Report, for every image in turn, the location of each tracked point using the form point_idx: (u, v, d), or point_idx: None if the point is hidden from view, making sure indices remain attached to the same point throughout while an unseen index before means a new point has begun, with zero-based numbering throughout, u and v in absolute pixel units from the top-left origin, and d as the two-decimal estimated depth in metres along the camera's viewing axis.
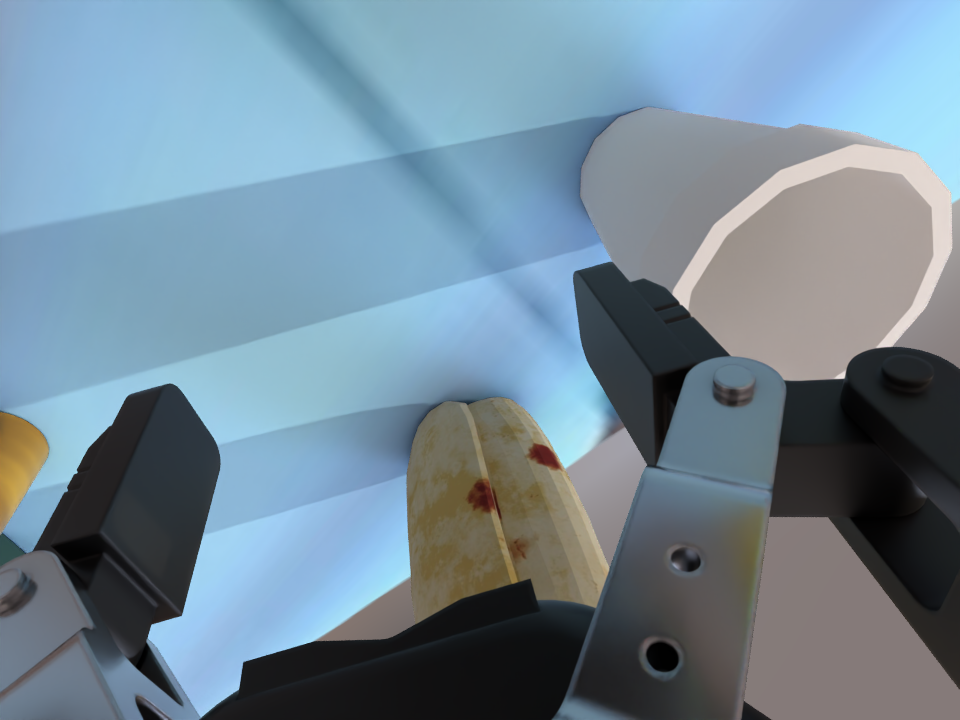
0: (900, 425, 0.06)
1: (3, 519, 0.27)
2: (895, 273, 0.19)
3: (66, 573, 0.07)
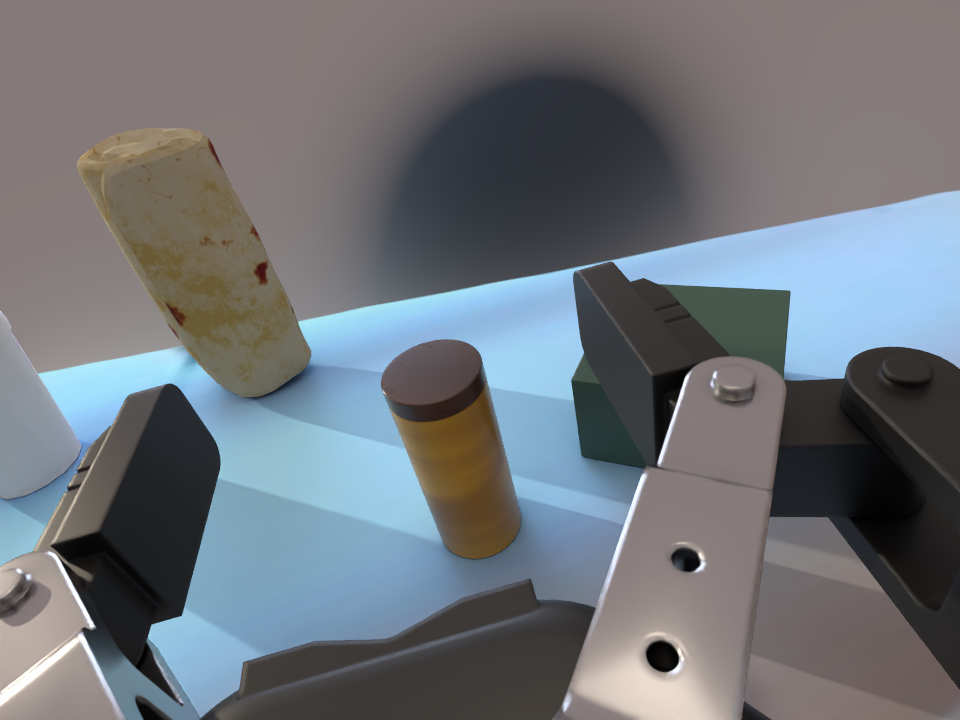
0: (900, 425, 0.06)
1: None
2: None
3: (66, 573, 0.07)
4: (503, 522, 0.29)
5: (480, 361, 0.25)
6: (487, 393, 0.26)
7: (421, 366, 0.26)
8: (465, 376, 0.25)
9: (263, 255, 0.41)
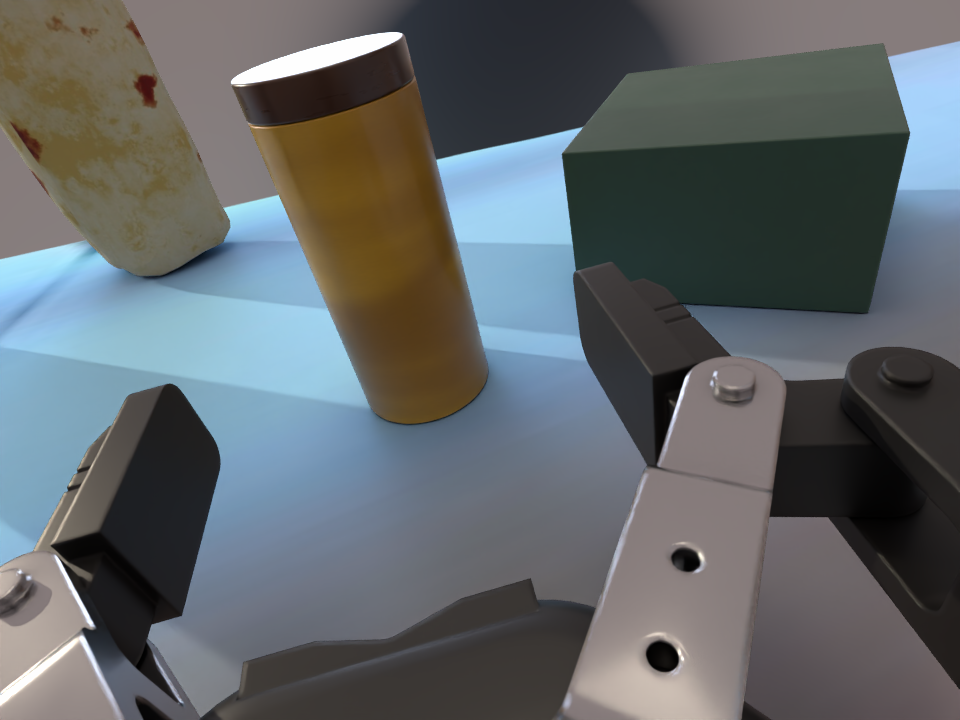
0: (900, 425, 0.06)
1: None
2: None
3: (66, 573, 0.07)
4: (456, 360, 0.19)
5: (401, 36, 0.15)
6: (416, 101, 0.15)
7: (304, 57, 0.15)
8: (371, 47, 0.14)
9: (148, 65, 0.30)
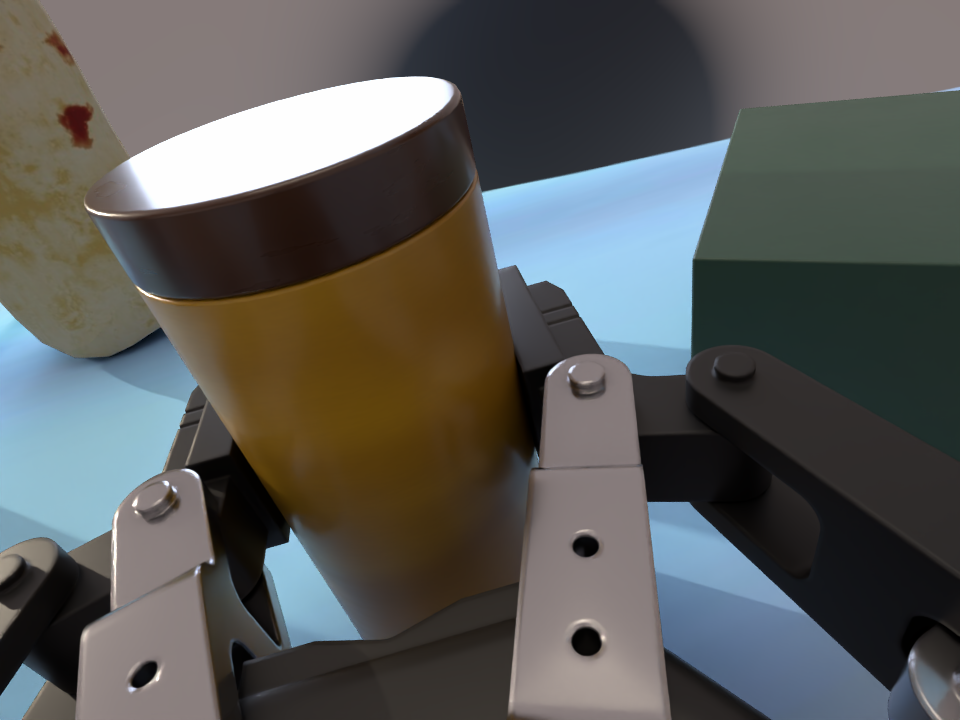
0: (717, 415, 0.07)
1: None
2: None
3: (204, 498, 0.08)
4: None
5: (454, 92, 0.07)
6: (481, 222, 0.07)
7: (251, 131, 0.07)
8: (392, 123, 0.06)
9: (79, 92, 0.23)
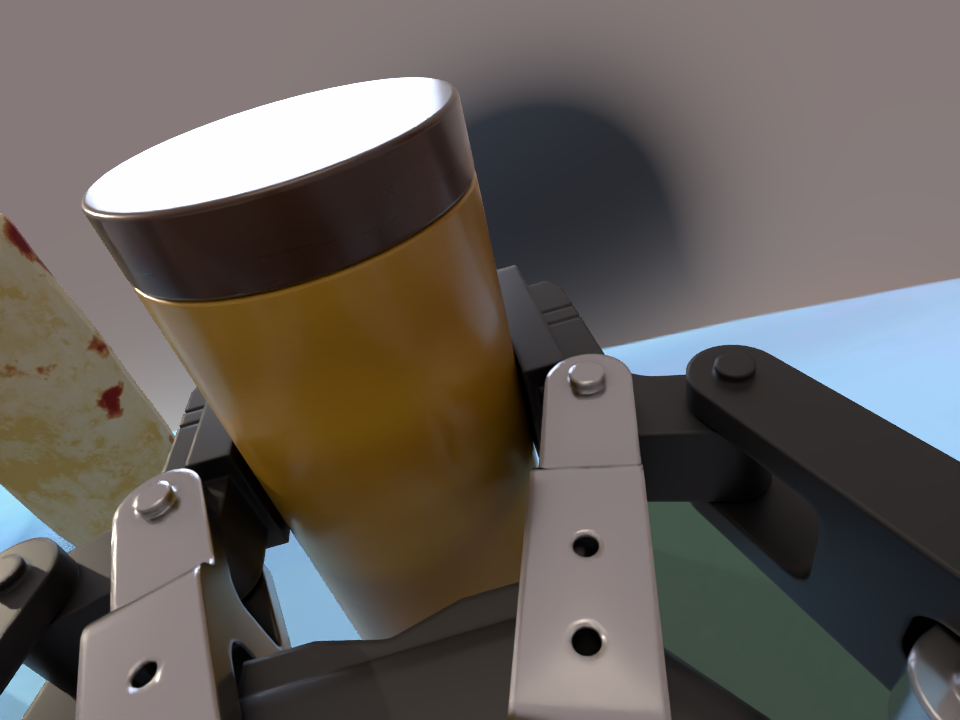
0: (718, 415, 0.07)
1: None
2: None
3: (204, 498, 0.08)
4: None
5: (452, 93, 0.07)
6: (479, 223, 0.07)
7: (250, 132, 0.07)
8: (390, 123, 0.06)
9: (113, 376, 0.28)
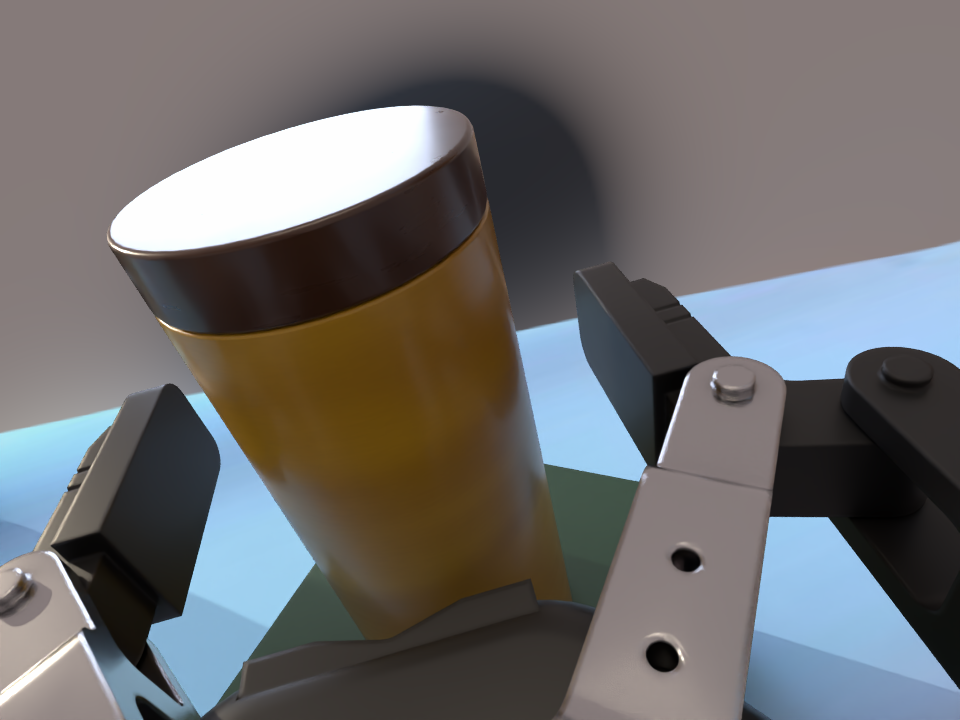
0: (900, 425, 0.06)
1: None
2: None
3: (66, 573, 0.07)
4: None
5: (466, 126, 0.07)
6: (492, 251, 0.07)
7: (268, 164, 0.08)
8: (407, 160, 0.06)
9: None
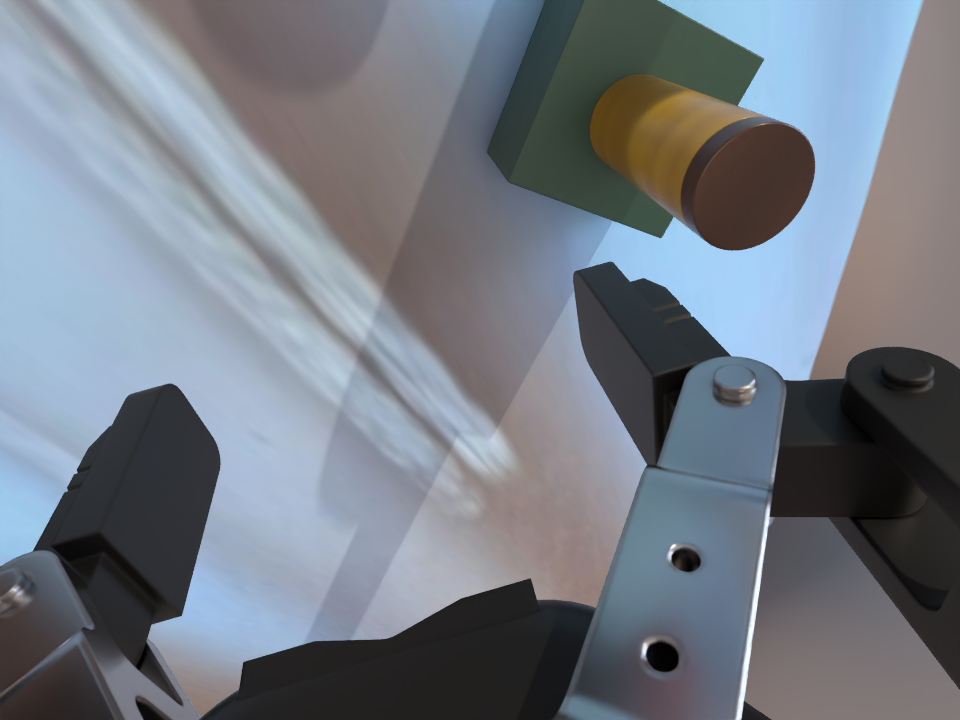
0: (900, 425, 0.06)
1: None
2: None
3: (66, 573, 0.07)
4: (612, 168, 0.29)
5: (741, 248, 0.22)
6: None
7: (765, 177, 0.20)
8: (722, 235, 0.21)
9: None
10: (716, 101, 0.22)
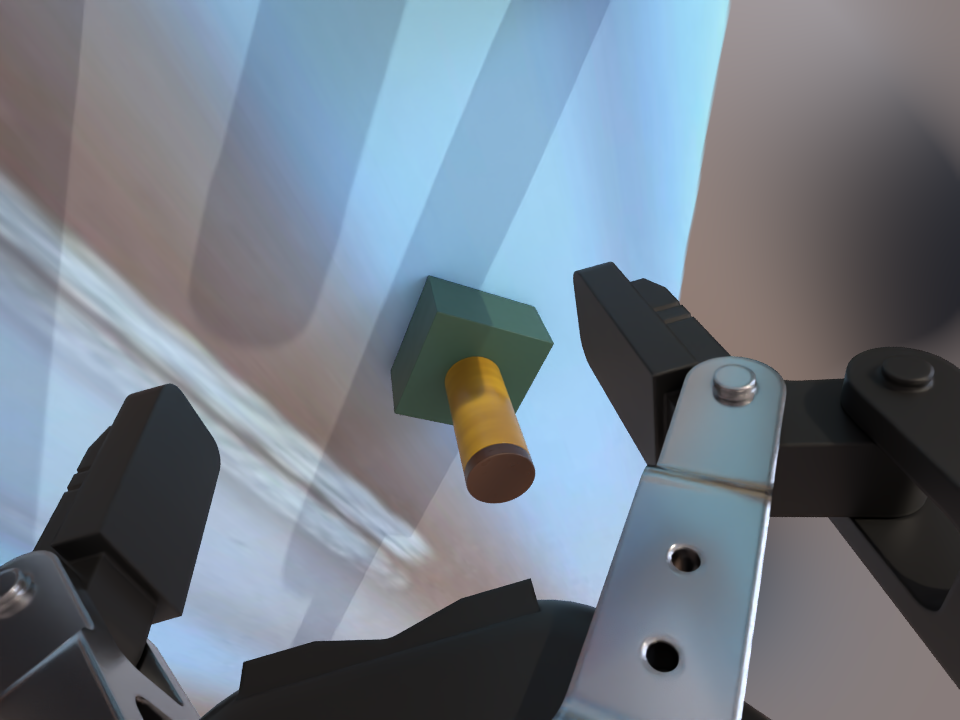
0: (900, 425, 0.06)
1: (508, 402, 0.42)
2: None
3: (66, 573, 0.07)
4: None
5: (502, 502, 0.39)
6: None
7: (506, 473, 0.37)
8: (488, 498, 0.38)
9: None
10: (491, 416, 0.39)
